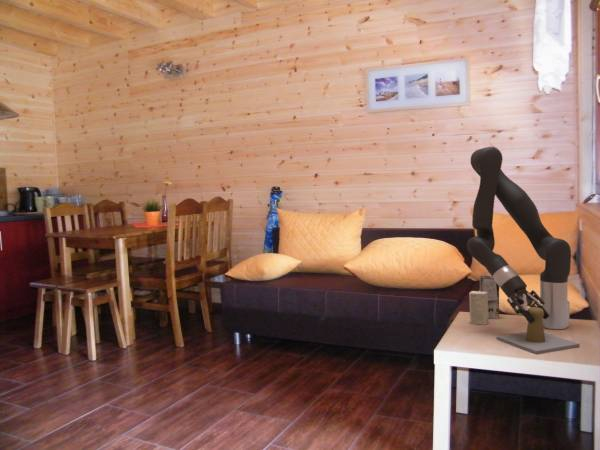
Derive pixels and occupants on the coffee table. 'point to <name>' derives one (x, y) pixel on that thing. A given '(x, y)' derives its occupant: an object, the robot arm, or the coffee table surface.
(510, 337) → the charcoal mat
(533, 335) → the cork
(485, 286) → the coffee box
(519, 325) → the coffee table surface
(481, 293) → the skincare box
